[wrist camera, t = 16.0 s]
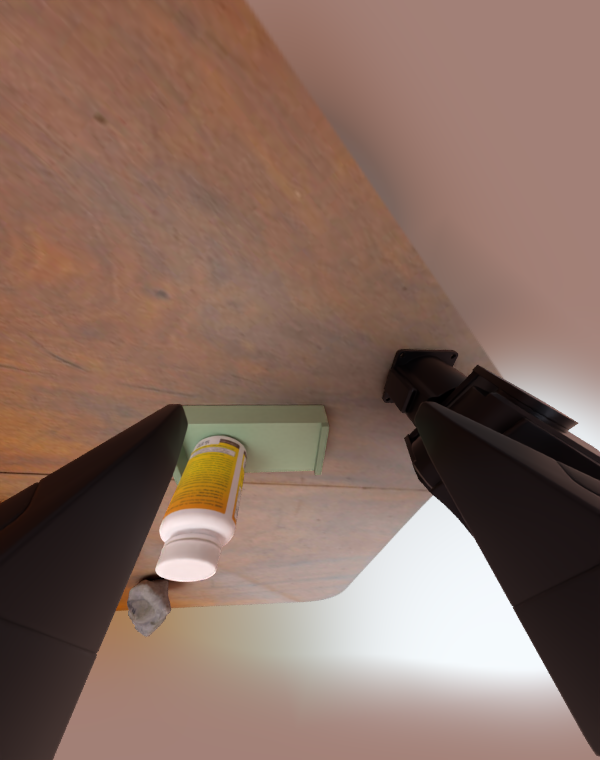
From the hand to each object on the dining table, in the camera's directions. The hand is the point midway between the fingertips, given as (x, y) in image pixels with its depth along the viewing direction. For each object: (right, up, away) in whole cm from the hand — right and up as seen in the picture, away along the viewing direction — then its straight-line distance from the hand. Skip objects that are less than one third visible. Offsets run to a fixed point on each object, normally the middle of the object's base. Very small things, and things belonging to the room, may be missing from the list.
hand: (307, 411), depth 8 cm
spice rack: (-6, -5, +18) cm, 20 cm away
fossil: (-32, -44, +40) cm, 68 cm away
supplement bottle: (-9, -6, +15) cm, 19 cm away
